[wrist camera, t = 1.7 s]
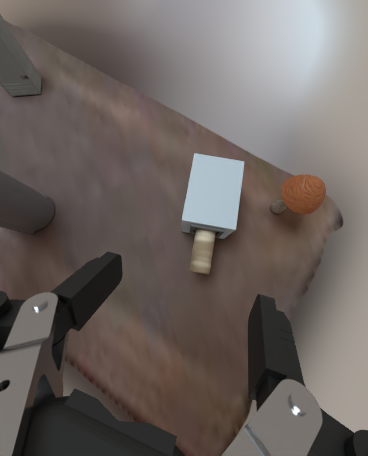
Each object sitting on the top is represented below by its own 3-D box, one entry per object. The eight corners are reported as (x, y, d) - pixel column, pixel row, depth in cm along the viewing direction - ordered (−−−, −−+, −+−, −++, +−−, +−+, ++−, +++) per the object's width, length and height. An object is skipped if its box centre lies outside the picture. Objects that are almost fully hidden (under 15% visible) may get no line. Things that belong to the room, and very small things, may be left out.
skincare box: (11, 97, 53) (-59, 25, 37) (13, 77, 54) (-53, 0, 39) (42, 95, 53) (-15, 22, 38) (44, 74, 55) (-11, -3, 39)
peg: (208, 274, 39) (210, 274, 35) (188, 270, 39) (189, 270, 35) (216, 218, 41) (219, 212, 37) (198, 214, 41) (199, 209, 37)
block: (223, 241, 45) (235, 232, 34) (181, 233, 45) (181, 223, 35) (230, 184, 48) (244, 161, 38) (191, 178, 48) (194, 153, 38)
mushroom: (293, 227, 46) (346, 206, 31) (260, 225, 46) (297, 203, 31) (291, 196, 47) (340, 162, 33) (259, 194, 47) (294, 160, 33)
